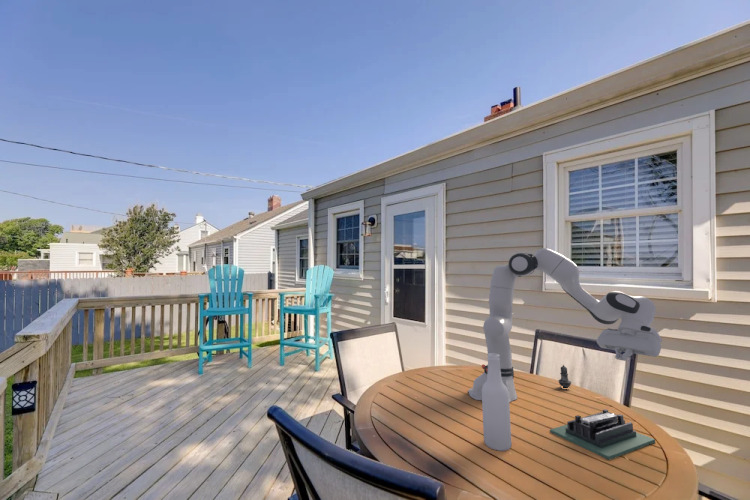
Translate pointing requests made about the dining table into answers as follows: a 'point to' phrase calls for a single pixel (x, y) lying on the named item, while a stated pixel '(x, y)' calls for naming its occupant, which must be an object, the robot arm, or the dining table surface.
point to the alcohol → (496, 408)
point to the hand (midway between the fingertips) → (620, 359)
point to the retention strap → (599, 418)
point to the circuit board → (607, 451)
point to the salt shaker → (564, 378)
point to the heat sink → (601, 430)
